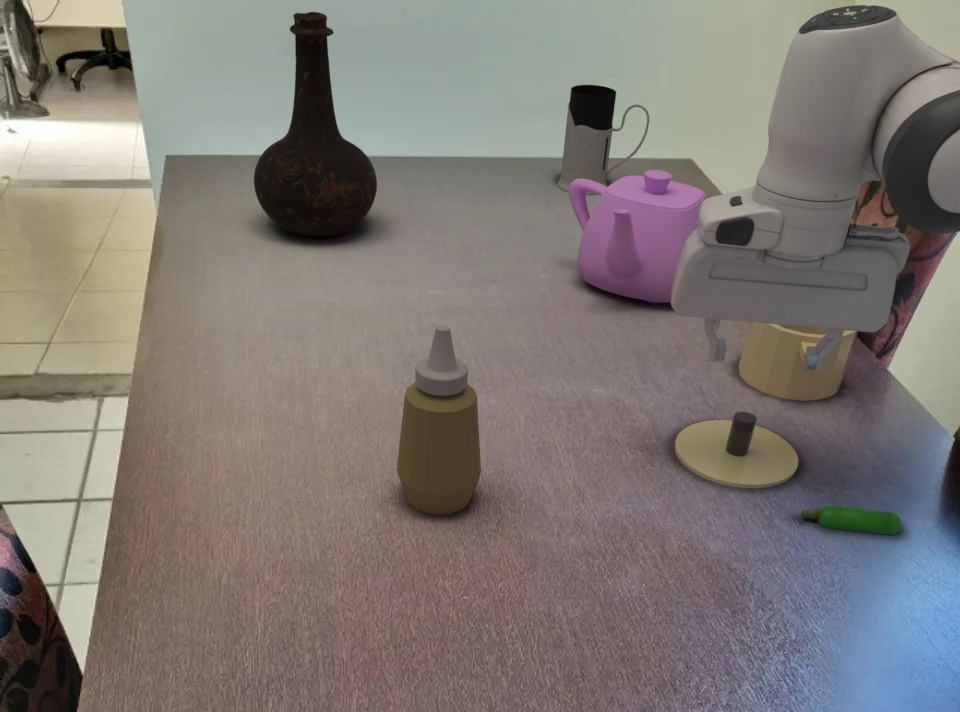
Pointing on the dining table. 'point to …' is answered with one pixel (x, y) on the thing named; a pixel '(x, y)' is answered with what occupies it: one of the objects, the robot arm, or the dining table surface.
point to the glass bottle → (314, 151)
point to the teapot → (635, 233)
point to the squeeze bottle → (439, 433)
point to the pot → (792, 361)
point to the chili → (856, 520)
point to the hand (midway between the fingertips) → (762, 363)
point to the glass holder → (590, 135)
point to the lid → (736, 452)
